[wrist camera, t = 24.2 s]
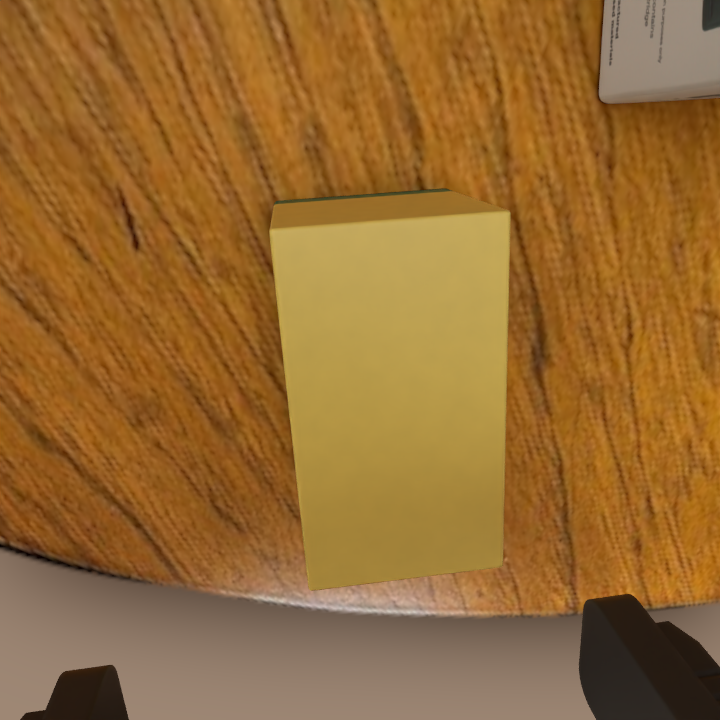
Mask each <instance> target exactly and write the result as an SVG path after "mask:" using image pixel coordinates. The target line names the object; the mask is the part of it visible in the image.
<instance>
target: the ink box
mask: <svg viewBox="0 0 720 720" xmlns="http://www.w3.org/2000/svg"><path fill="white" fill-rule="evenodd" d="M599 97H600V99H601V101H603V102H604V103H607V104H618V103H638V102H659V101H676V100H693V99H709V98H720V0H605V1H604V16H603V31H602V47H601V66H600V81H599Z"/></svg>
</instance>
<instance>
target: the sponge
mask: <svg viewBox="0 0 720 720" xmlns="http://www.w3.org/2000/svg"><path fill="white" fill-rule="evenodd" d="M510 214H511V213H510V211H509V210H506V209H503V208H500V207H497V206H494V205H492V204H489V203H486V202H483V201H480V200H477V199H474V198H472V197H469V196H466V195H463V194H460V193H457V192H454V191H451V190H449V189H432V190H419V191H405V192H392V193H378V194H365V195H351V196H338V197H324V198H311V199H297V200H284V201H276V202H275V203H274V208H273V214H272V219H271V225H270V230H269V236H270V245H271V254H272V263H273V272H274V281H275V290H276V299H277V308H278V317H279V326H280V335H281V344H282V353H283V362H284V371H285V380H286V389H287V398H288V407H289V416H290V425H291V435H292V444H293V453H294V462H295V471H296V480H297V489H298V498H299V507H300V516H301V525H302V534H303V543H304V552H305V561H306V570H307V579H308V588H309V589H310V590H311V591H314V590H322V589H330V588H338V587H346V586H354V585H362V584H370V583H378V582H386V581H394V580H402V579H410V578H418V577H426V576H434V575H442V574H450V573H458V572H466V571H474V570H482V569H490V568H498V567H502V566H503V537H504V491H505V445H506V399H507V353H508V307H509V260H510Z"/></svg>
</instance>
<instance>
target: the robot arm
mask: <svg viewBox="0 0 720 720" xmlns="http://www.w3.org/2000/svg"><path fill="white" fill-rule="evenodd" d="M579 673H580V680H581V685H582V688H583V692H584V695H585V697H586V700H587V702H588V705H589V707H590V708H591V711H592V712H593V714H594V716H595V718H596V720H720V667H719V666H718V664H717V663H716V662H715V661H714V660H713V659H712V657H711V656H710V655H709V654H708V653H707V651H706V650H705V649H704V648H703V647H702V645H701V644H700V643H699V642H698V641H696V640H695V639H693V638H692V637H691V636H689V635H688V634H686V633H685V632H683V631H682V630H680V629H679V628H678V627H676V626H675V625H673V624H672V623H670V622H669V621H666V622H659V623H655V622H654V620H653V619H652V618H651V617H650V615H649V614H648V613H647V611H646V610H645V609H644V608H643V606H642V605H641V604H640V602H639V601H638V600H637V599H636V598H635V597H634V596H632V595H630V594H624V595H617V596H610V597H603V598H596V599H589V600H587V601H586V602H585V604H584V609H583V620H582V633H581V646H580V659H579ZM20 720H129V719H128V715H127V711H126V707H125V703H124V699H123V694H122V691H121V687H120V682H119V678H118V675H117V671H116V669H115V667H114V666H113V665H107V666H100V667H92V668H85V669H78V670H72V671H65V672H63V673H62V674H61V675H60V677H59V679H58V681H57V683H56V686H55V688H54V691H53V693H52V695H51V698H50V700H49V703H48V705H47V708H46V710H43V711H36V712H30V713H26V714H25V715H24V716H23V717H22V718H21V719H20Z"/></svg>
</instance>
